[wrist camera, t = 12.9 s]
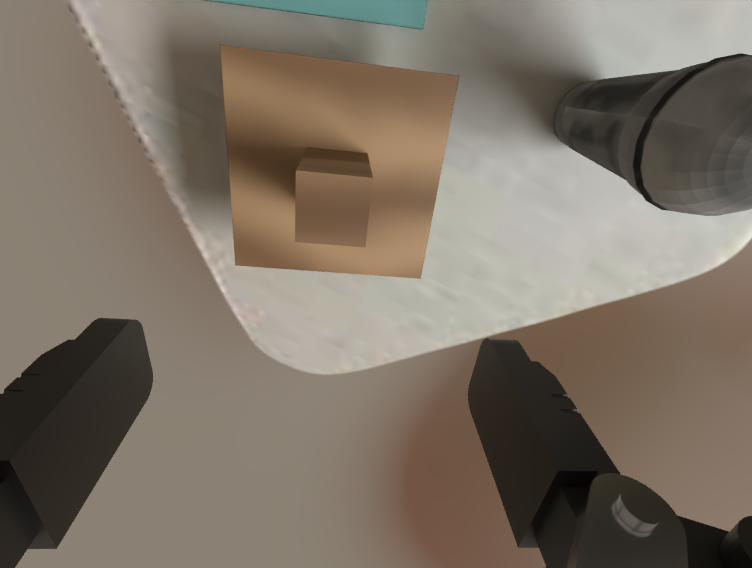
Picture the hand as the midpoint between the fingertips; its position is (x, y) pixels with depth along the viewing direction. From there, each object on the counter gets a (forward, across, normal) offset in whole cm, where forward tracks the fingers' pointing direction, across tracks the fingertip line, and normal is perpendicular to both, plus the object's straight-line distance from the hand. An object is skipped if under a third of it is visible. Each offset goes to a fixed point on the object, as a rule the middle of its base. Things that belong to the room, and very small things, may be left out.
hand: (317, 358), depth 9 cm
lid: (+18, 0, 0) cm, 18 cm away
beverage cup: (+23, -18, -5) cm, 30 cm away
